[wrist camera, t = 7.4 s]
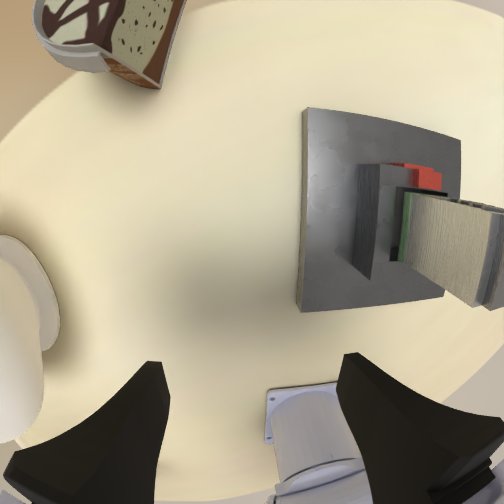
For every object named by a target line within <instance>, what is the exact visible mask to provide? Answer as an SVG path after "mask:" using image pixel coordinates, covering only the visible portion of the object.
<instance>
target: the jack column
mask: <svg viewBox="0 0 504 504" xmlns="http://www.w3.org/2000/svg"><path fill="white" fill-rule="evenodd" d="M397 261H399V262H401V263H402V264H406V265H408V266H409V267H411V268H413V269H414V270H416V271H417V272H419V273H421V274H422V275H424V276H425V277H427V278H428V279H430V280H432V281H433V282H435V283H436V284H438V285H439V286H441V287H442V288H444V289H445V290H447V291H448V292H450V293H451V294H453V295H454V296H456V297H457V298H459V299H460V300H462V301H463V302H464V303H466V304H467V305H469V306H470V307H472V308H473V307H477V306H481V305H482V306H484V307H485V308H487V309H488V310H489V311H492V310H495V309H498V308H501V307H504V209H503V208H498V207H495V206H491V205H486V204H483V203H478V202H472V201H466V200H460V199H455V198H450V197H443V196H436V195H428V194H420V193H412V192H405V193H404V208H403V219H402V229H401V238H400V246H399V253H398V260H397Z"/></svg>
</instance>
